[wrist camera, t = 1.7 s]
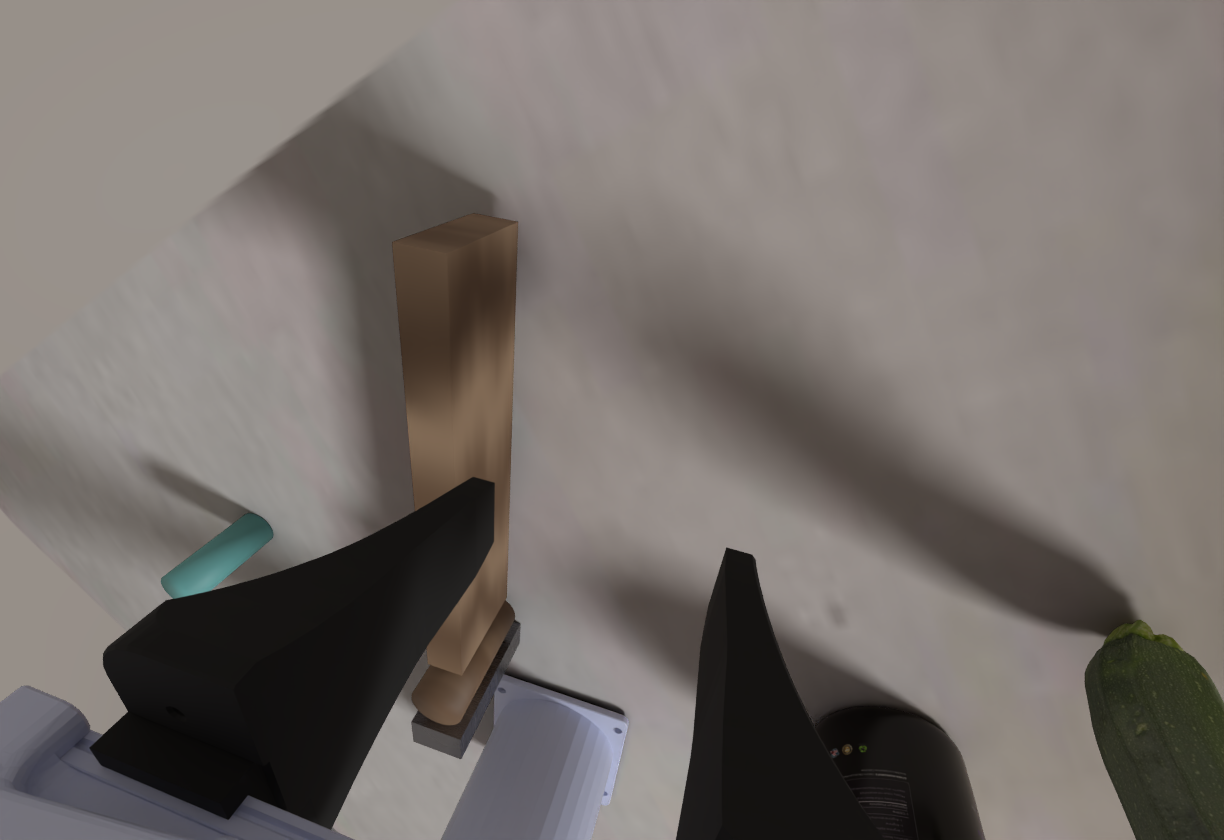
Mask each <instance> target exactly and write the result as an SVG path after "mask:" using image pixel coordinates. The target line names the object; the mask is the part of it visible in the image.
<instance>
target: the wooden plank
mask: <svg viewBox="0 0 1224 840" xmlns="http://www.w3.org/2000/svg"><path fill="white" fill-rule="evenodd" d="M517 239H518V222H516V221H511V220H506V219H501V218H496V217H490V216H485V215H480V214H475V213H472V214H470V215H467V216H464V217H461V218H458V219H455V220H453V221H450V222H447V223H444V224H441V225H439V226H436V227H433V228H430V229H427V230H424V231H422V232H419V233H416V234H413V235H410V236H408V237H405V238H402V239H399V240H396V241H394V242H392V248H393V260H394V271H395V283H396V295H397V306H398V318H399V330H400V342H401V353H402V365H403V377H404V388H405V400H406V412H407V424H408V435H409V447H410V459H411V470H412V482H413V494H414V506H415V511H416V510H418V509H420V508H421V507H423V506H425V505H427V504H428V503H430V502H432V501H433V500H435V499H437V498H438V497H440V496H442V495H443V494H445V493H447V492H448V491H450V490H451V489H453V488H455V487H456V486H458V485H460V484H461V483H463V482H465V481H467V480H468V479H470V478H472V477H476V478H480V479H483V480H487V481H490V482H494V483H495V511H494V543H493V545H492V547H491V549H490V551H489V553H488V555H487V557H486V559H485V561H484V563H483V564H482V566H481V568H480V570H479V572H478V574H477V575H476V577H475V578H474V580H473V581H472V583H471V584H470V586H469V587H468V589H467V590H466V592H465V593H464V595H463V596H462V597H461V599H460V600H459V602H458V603H457V605H456V606H455V607H454V609H453V610H452V612H451V613H450V615H449V616H448V617H447V619H446V620H445V622H444V623H443V625H442V626H441V627H440V629H439V630H438V632H437V633H436V635H435V636H434V637H433V639H432V640H431V642H430V643H429V645H428V646H427V658H428V664H429V665H430V666H429V668H428V669H427V671H426V673H425V674H424V676H423V677H422V679H421V680H420V682H419V683H418V685H417V687H416V688H415V690H414V691H413V693H412V702H413V704H414V705H415V707H416V708H417V709H418V710H419V711H420V712H421V713H422V714H423V715H424V716H426V717H427V718H429V719H431V720H432V721H435V722H437V723H440V724H444V725H455V724H458V723H459V722H460V721H461V719H462V718H463V716H464V714H465V712H466V710H467V708H468V706H469V704H470V703H471V701H472V699H473V697H474V695H475V693H476V691H477V689H478V687H479V686H480V684H481V682H482V680H483V678H484V676H485V674H486V672H487V671H488V669H489V667H490V665H491V663H492V661H493V659H494V657H495V656H496V654H497V652H498V650H499V648H500V646H501V644H502V642H503V641H504V639H505V637H506V635H507V633H508V631H509V629H510V627H511V626H512V624H513V622H514V620H515V613H514V610H513V608H512V607H511V605H510V604H509V603H508V602H507V601H506V598H507V571H508V538H509V505H510V472H511V438H512V405H513V372H514V339H515V306H516V272H517Z"/></svg>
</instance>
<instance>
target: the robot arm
mask: <svg viewBox="0 0 1224 840" xmlns="http://www.w3.org/2000/svg"><path fill="white" fill-rule="evenodd" d="M494 511H495V483H494V482H490V481H487V480H483V479H480V478H476V477H472V478H470V479H468V480H467V481H465V482H463V483H461V484H460V485H458V486H456V487H455V488H453V489H451V490H450V491H448V492H447V493H445V494H443V495H442V496H440V497H438V498H437V499H435V500H433V501H432V502H430V503H428V504H427V505H425V506H423V507H421V508H420V509H418V510H416V511H414V512H413V513H411V514H409V515H408V516H406V517H404V518H402V519H401V520H399V521H397V522H395V523H393V524H391V525H389V526H387V527H385V528H383V529H381V530H380V531H378V532H376V533H374V534H372V535H370V536H368V537H366V538H364V539H362V540H360V541H357V542H355V543H353V544H351V545H349V546H346V547H344V548H342V549H339V550H337V551H334V552H332V553H330V554H327V555H325V556H322V557H320V558H317V559H314V560H311V561H309V562H306V563H303V564H300V565H297V566H295V567H292V568H289V569H286V570H283V571H281V572H277V573H274V574H271V575H268V576H264V577H261V578H258V579H254V580H251V581H247V582H243V583H240V584H236V585H233V586H229V587H225V588H221V589H216V590H212V591H207V592H203V593H198V594H194V595H189V596H185V597H180V598H175V599H170V600H166V601H165V602H163V603H162V604H161V605H159V606H158V607H157V608H156V609H154V610H153V611H152V612H151V613H149V614H148V615H147V616H146V617H144V618H143V619H142V620H141V621H139V622H138V623H137V624H136V625H134V626H133V627H132V628H131V629H129V630H128V631H127V632H126V633H124V634H123V635H122V636H121V637H119V638H118V639H117V640H116V641H114V642H113V643H112V644H111V645H109V646H108V647H107V649H106V650H105V651H104V653H103V666H104V669H105V671H106V673H107V676H108V677H109V679H110V681H111V683H112V684H113V686H114V688H115V690H116V691H117V692H118V695H119V696H120V698H121V700H122V702H123V703H124V705H125V707H126V709H127V710H128V712H127V713H126V714H125V715H124V716H123V717H122V718H121V719H120V720H119V721H118V722H116V723H115V724H114V725H113V726H112V727H111V728H110V729H109V730H108V731H107V732H106V733H105V734H103V735H102V734H100V733H97V732H95V731H92V730H90V725H89V723H88V721H87V719H86V717H85V716H84V715H83V714H82V712H81V711H80V710H79V709H77V708H76V707H74V706H73V705H72V704H70V703H68V702H67V701H65V700H62V699H60V698H57V697H55V696H52V695H50V694H48V693H45V692H43V691H40V690H38V689H35V688H33V687H31V686H21V687H20V688H18V689H17V690H16V691H14V692H13V693H12V694H10V695H9V696H8V697H6V698H5V699H4V700H3V701H1V702H0V840H354V839H352V838H349V837H347V836H344V835H342V834H340V833H337V832H335V831H332V830H331V829H332V827H333V824H334V822H335V820H336V818H337V816H338V814H339V812H340V810H341V808H342V805H343V803H344V801H345V799H346V797H347V795H348V793H349V791H350V789H351V786H352V784H353V782H354V780H355V778H356V776H357V774H358V772H359V770H360V768H361V766H362V764H363V762H364V760H365V758H366V756H367V754H368V752H369V750H370V748H371V746H372V744H373V742H374V740H375V738H376V737H377V735H378V733H379V731H380V729H381V727H382V725H383V723H384V721H385V720H386V718H387V716H388V714H389V712H390V710H391V708H392V706H393V705H394V703H395V701H396V699H397V697H398V695H399V694H400V692H401V690H402V688H403V686H404V685H405V683H406V681H407V679H408V678H409V676H410V674H411V672H412V670H413V669H414V667H415V665H416V663H417V662H418V660H419V659H420V657H421V655H422V654H423V652H424V651H425V649H426V648H427V646H428V645H429V643H430V642H431V640H432V639H433V637H434V636H435V635H436V633H437V632H438V630H439V629H440V627H441V626H442V625H443V623H444V622H445V620H446V619H447V617H448V616H449V615H450V613H451V612H452V610H453V609H454V607H455V606H456V605H457V603H458V602H459V600H460V599H461V597H462V596H463V595H464V593H465V592H466V590H467V589H468V587H469V586H470V584H471V583H472V581H473V580H474V578H475V577H476V575H477V574H478V572H479V570H480V568H481V566H482V564H483V563H484V561H485V559H486V557H487V555H488V553H489V551H490V549H491V547H492V545H493V543H494ZM628 724H629V720H628V719H627V717H625V716H624V715H622V714H619V713H616V712H613V711H610V710H607V709H604V708H601V707H598V706H595V705H592V704H590V703H587V702H584V701H581V700H578V699H575V698H572V697H569V696H566V695H563V694H560V693H557V692H554V691H552V690H549V689H546V688H543V687H540V686H537V685H534V684H531V683H528V682H525V681H522V680H519V679H516V678H514V677H511V676H508V675H505V674H504V675H503V677H502V679H501V681H500V683H499V685H498V687H497V689H496V691H495V693H494V728H493V730H492V733H491V735H490V737H489V739H488V741H487V743H486V745H485V747H484V749H483V751H482V754H481V756H480V758H479V760H478V762H477V764H476V766H475V768H474V770H473V773H472V775H471V777H470V779H469V781H468V783H467V785H466V787H465V789H464V792H463V794H462V796H461V798H460V800H459V802H458V804H457V806H456V808H455V811H454V813H453V815H452V817H451V819H450V821H449V823H448V825H447V827H446V830H445V832H444V834H443V836H442V838H441V840H591V838H592V835H593V831H594V827H595V824H596V820H597V816H598V813H599V809H600V805H608V804H609V803H610V800H611V796H612V792H613V787H614V783H615V779H616V775H617V771H618V766H619V762H620V758H621V754H622V750H623V745H624V741H625V737H626V733H627V729H628ZM676 840H885V839H884V838H883V836H882V835H881V833H880V832H879V831H878V829H877V828H876V827H875V825H874V824H873V822H872V821H871V819H870V818H869V816H868V815H867V814H866V812H865V811H864V809H863V807H862V806H861V804H860V803H859V801H858V800H857V798H856V797H855V795H854V794H853V792H852V791H851V789H850V787H849V786H848V784H847V783H846V781H845V780H844V778H843V776H842V774H841V773H840V771H839V769H838V768H837V766H836V764H835V762H834V761H833V759H832V757H831V756H830V754H829V752H828V750H827V749H826V747H825V745H824V744H823V742H822V740H821V738H820V737H819V735H818V733H817V731H816V729H815V727H814V725H813V723H812V721H811V719H810V717H809V715H808V713H807V712H806V709H805V707H804V705H803V703H802V701H801V699H800V697H799V695H798V693H797V690H796V688H795V686H794V684H793V681H792V679H791V677H790V674H789V672H788V669H787V667H786V664H785V662H784V659H783V657H782V654H781V652H780V649H779V646H778V643H777V641H776V638H775V635H774V632H773V629H772V625H771V622H770V619H769V616H768V613H767V610H766V606H765V603H764V599H763V595H762V591H761V587H760V583H759V578H758V573H757V567H756V560H755V558H754V557H753V555H751V554H748V553H744V552H740V551H737V550H733V549H730V548H726V551H725V554H724V557H723V560H722V564H721V567H720V570H719V573H718V576H717V580H716V583H715V586H714V589H713V593H712V596H711V599H710V602H709V606H708V610H707V616H706V621H705V626H704V631H703V636H702V642H701V649H700V660H699V672H698V684H697V696H696V708H695V720H694V732H693V742H692V750H691V758H690V764H689V769H688V775H687V781H686V787H685V792H684V798H683V804H682V809H681V815H680V820H679V826H678V831H677V837H676Z"/></svg>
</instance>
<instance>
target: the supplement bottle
mask: <svg viewBox="0 0 1224 840" xmlns="http://www.w3.org/2000/svg"><path fill="white" fill-rule="evenodd" d="M815 729H816V731H817V733H818V735H819V737H820V738H821V740H822V742H823V744H824V745H825V747H826V749H827V750H828V752H829V754H830V756H831V757H832V759H833V761H834V762H835V764H836V766H837V768H838V769H839V771H840V773H841V774H842V776H843V778H844V780H845V781H846V783H847V784H848V786H849V787H850V789H851V791H852V792H853V794H854V795H855V797H856V798H857V800H858V801H859V803H860V804H861V806H862V807H863V809H864V811H865V812H866V814H867V815H868V816H869V818H870V819H871V821H872V822H873V824H874V825H875V827H876V828H877V829H878V831H879V832H880V833H881V835H882V836H883V838H884V839H885V840H985V836H984V832H983V829H982V825H981V821H980V817H979V814H978V810H977V806H976V802H975V799H974V795H973V791H972V787H971V784H970V780H969V777H968V774H967V770H966V767H965V763H964V760H963V757H962V755H961V753H960V751H959V750H958V748H957V746H956V745H955V744H954V742H953V741H952V740H951V739H950V738H949V737H948V736H947V735H946V734H945V733H944V732H943V731H942V730H940V729H939V728H938V727H936V726H935V725H933V724H932V723H930V722H928V721H927V720H925V719H923V718H921V717H918V716H916V715H913V714H911V713H908V712H905V711H901V710H897V709H892V708H886V707H877V706H862V707H853V708H848V709H844V710H841V711H838V712H835V713H833V714H831V715H829V716H827V717H826V718H825V719H823V720H822V721H821V722H820V723H819V724H818V725H817V726H816V727H815Z"/></svg>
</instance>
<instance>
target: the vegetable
mask: <svg viewBox="0 0 1224 840" xmlns="http://www.w3.org/2000/svg"><path fill="white" fill-rule="evenodd" d="M1085 688H1086V694H1087V699H1088V704H1089V710H1090V715H1091V721H1092V727H1093V730H1094V734H1095V737H1096V741H1097V744H1098V747H1099V750H1100V753H1101V756H1102V759H1103V762H1104V765H1105V767H1106V769H1107V772H1108V774H1109V776H1110V778H1111V781H1112V783H1113V785H1114V788H1115V790H1116V792H1117V794H1118V797H1119V799H1120V802H1121V804H1122V806H1123V809H1124V811H1125V813H1126V816H1127V818H1128V821H1129V823H1130V825H1131V828H1132V830H1133V833H1134V835H1135V838H1136V840H1224V702H1223V700H1222V698H1221V696H1220V694H1219V692H1218V691H1217V689H1216V687H1215V685H1214V683H1213V681H1212V680H1211V678H1210V677H1209V675H1208V673H1207V672H1206V670H1205V669H1204V668H1203V667H1202V666H1201V665H1200V664H1199V663H1198V661H1197V660H1196V659H1195V658H1194V657H1193V656H1191V655H1189V654H1188V653H1186V652H1185V651H1184V650H1183V649H1182V648H1181V647H1180V646H1179V645H1178V644H1177V642H1176V641H1175V640H1174V639H1173V638H1171V637H1169V636H1166V635H1164V634H1161V635H1154V634H1153V632H1152V630H1151V628H1150V627H1149V626H1148V625H1147V624H1146V623H1145V622H1143V621H1142V620H1137V621H1135V623H1134V624H1126V623H1125V624H1123V625H1121V626H1119V627H1117V628H1116V629H1114V630H1113V631H1112V632H1111V634H1110V635H1109V636H1108V637H1107V638H1106V639H1105V641H1104V644H1103V646H1102V648H1100V649H1099V650H1098V651H1097V652H1096V654H1095V656H1094V657H1093V658H1092V659H1091V661H1090V662H1089V664H1088V666H1087V668H1086V671H1085Z"/></svg>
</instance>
